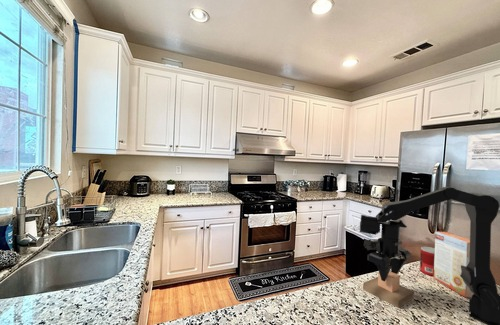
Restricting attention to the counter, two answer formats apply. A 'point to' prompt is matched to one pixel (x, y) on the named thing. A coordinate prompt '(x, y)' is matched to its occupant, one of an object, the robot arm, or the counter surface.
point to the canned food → (427, 260)
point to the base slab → (389, 293)
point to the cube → (390, 282)
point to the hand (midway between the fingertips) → (388, 278)
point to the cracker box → (451, 261)
